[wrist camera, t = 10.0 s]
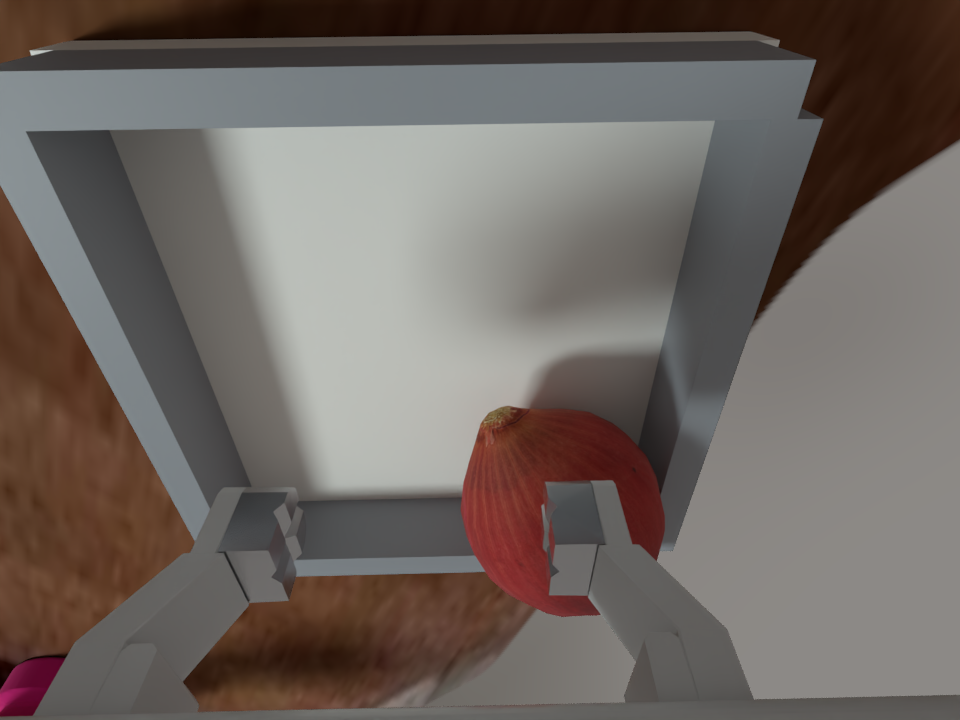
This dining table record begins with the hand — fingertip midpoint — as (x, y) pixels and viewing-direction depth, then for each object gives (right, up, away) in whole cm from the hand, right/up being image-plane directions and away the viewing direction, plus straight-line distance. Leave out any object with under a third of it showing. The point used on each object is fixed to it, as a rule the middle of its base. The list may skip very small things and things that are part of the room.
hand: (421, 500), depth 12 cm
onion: (+1, +2, +3) cm, 4 cm away
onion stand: (0, +4, +6) cm, 7 cm away
